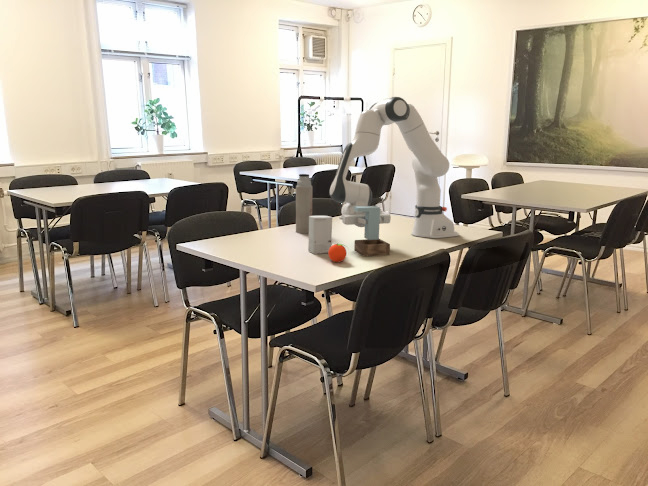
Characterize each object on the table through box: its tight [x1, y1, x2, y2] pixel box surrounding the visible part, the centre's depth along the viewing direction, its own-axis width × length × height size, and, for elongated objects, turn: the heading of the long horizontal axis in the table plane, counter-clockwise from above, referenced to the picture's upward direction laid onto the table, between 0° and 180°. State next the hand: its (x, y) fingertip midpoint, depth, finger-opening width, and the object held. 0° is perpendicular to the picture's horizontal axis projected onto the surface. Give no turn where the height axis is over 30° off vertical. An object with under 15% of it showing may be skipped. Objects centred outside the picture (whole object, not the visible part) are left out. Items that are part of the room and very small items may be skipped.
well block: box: [354, 238, 391, 258], centre depth 219 cm, size 11×11×4 cm
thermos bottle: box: [295, 173, 313, 234], centre depth 260 cm, size 8×8×28 cm
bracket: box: [354, 205, 381, 240], centre depth 216 cm, size 10×4×13 cm, turn 107°
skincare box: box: [307, 215, 333, 255], centre depth 219 cm, size 8×6×15 cm
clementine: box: [328, 243, 349, 263], centre depth 203 cm, size 8×7×7 cm
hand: (373, 221), depth 216 cm, fingers closed on bracket, 4 cm apart
